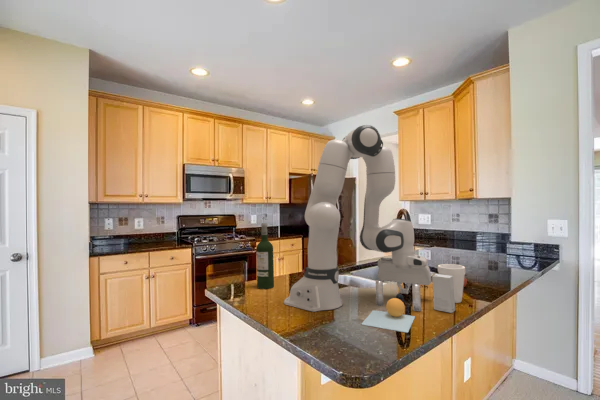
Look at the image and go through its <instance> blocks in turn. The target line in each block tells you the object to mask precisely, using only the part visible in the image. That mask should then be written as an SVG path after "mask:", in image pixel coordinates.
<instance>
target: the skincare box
mask: <svg viewBox="0 0 600 400" xmlns="http://www.w3.org/2000/svg"><path fill="white" fill-rule="evenodd" d="M431 283H432V294H433V295H432V296H433V310H435V311H441V312H445V313H449V314H453V313H454V312H455V311H456V303H455V296H454V280H453V276H449V275H441V274H439V273H435V274H433V275H431Z"/></svg>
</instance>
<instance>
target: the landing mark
mask: <svg viewBox="0 0 600 400" xmlns="http://www.w3.org/2000/svg"><path fill="white" fill-rule="evenodd" d="M415 319H416V316H415V315H409V314H404V313H403V314H402V315H401V316H399V317H393V316H391V315H390V314H389V313H388V312H387V311H381V310H376V309H375V310H374V309H372V311H371V312H370V313H369V315H368V316H367V317H366V318H365V319H364V320H363V321H362V322H361V326H366V327H371V328H378V329H384V330H389V331H394V332H399V333H400V332H401V333H406V334H408V333H409V331H410V330H411V327H412V325H413V323H414V321H415Z"/></svg>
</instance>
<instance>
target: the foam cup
mask: <svg viewBox="0 0 600 400" xmlns="http://www.w3.org/2000/svg"><path fill="white" fill-rule="evenodd" d="M437 273H438V274H441V275H449V276H453V280H454V296H455V304H457V303H458V304H459V303H461V302H462V300H463V293H464V287H463V285H464V276H465V274H466V267H465V266H464V265H460V264H454V263H452V264H451V263H443V264H438V265H437ZM465 277H466V276H465Z"/></svg>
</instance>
